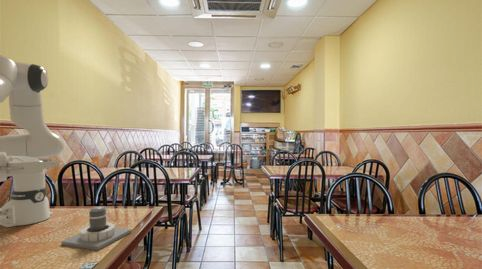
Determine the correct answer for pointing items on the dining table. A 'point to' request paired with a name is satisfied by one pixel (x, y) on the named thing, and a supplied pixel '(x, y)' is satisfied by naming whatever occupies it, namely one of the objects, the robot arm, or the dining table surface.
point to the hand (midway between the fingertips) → (54, 162)
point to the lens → (97, 219)
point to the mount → (96, 237)
